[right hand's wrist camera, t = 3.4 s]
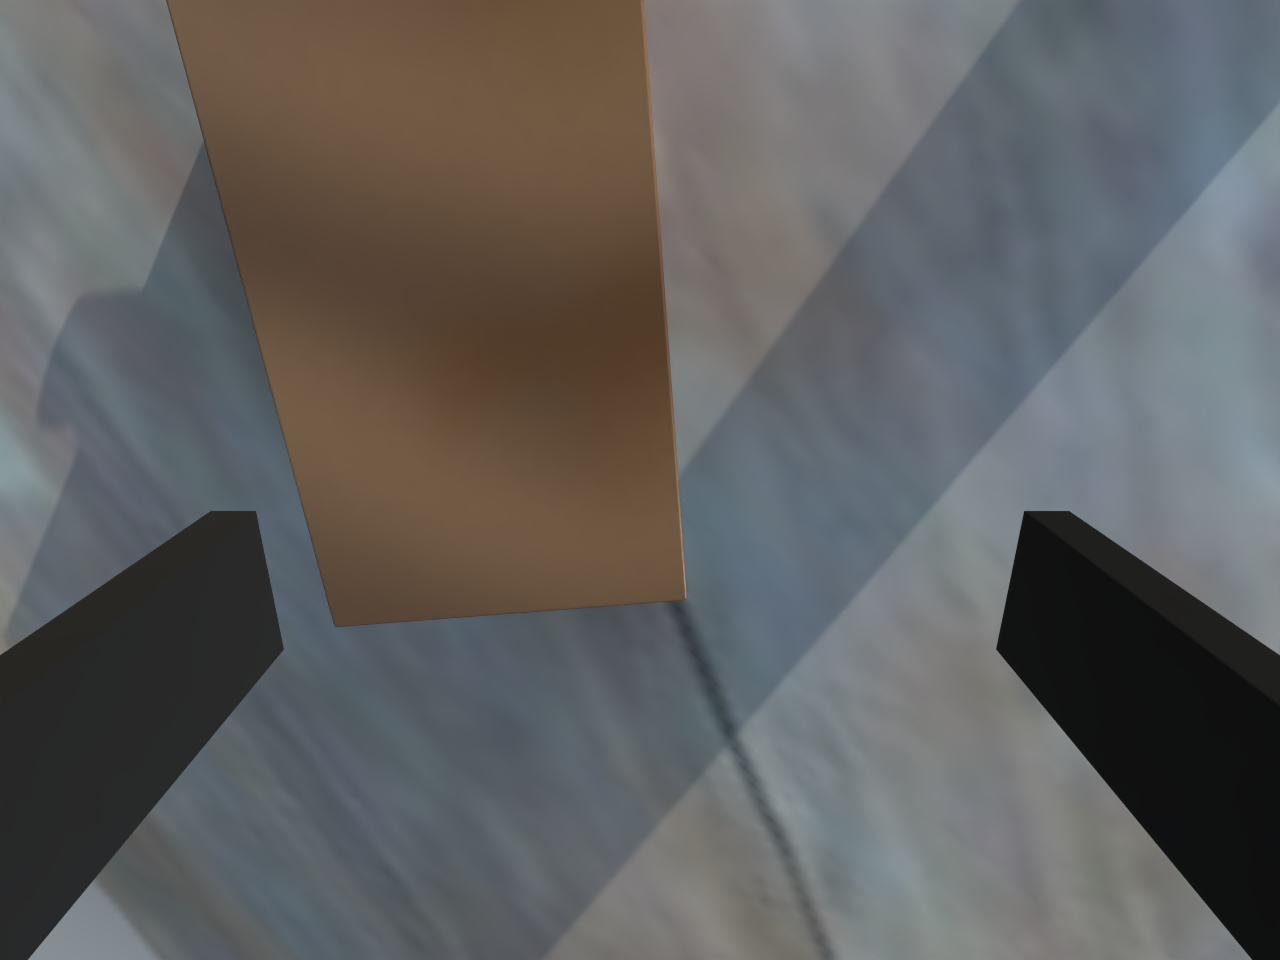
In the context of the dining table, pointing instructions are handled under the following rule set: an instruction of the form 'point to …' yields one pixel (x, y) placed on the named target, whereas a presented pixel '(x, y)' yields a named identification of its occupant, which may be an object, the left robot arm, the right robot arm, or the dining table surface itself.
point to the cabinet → (453, 292)
